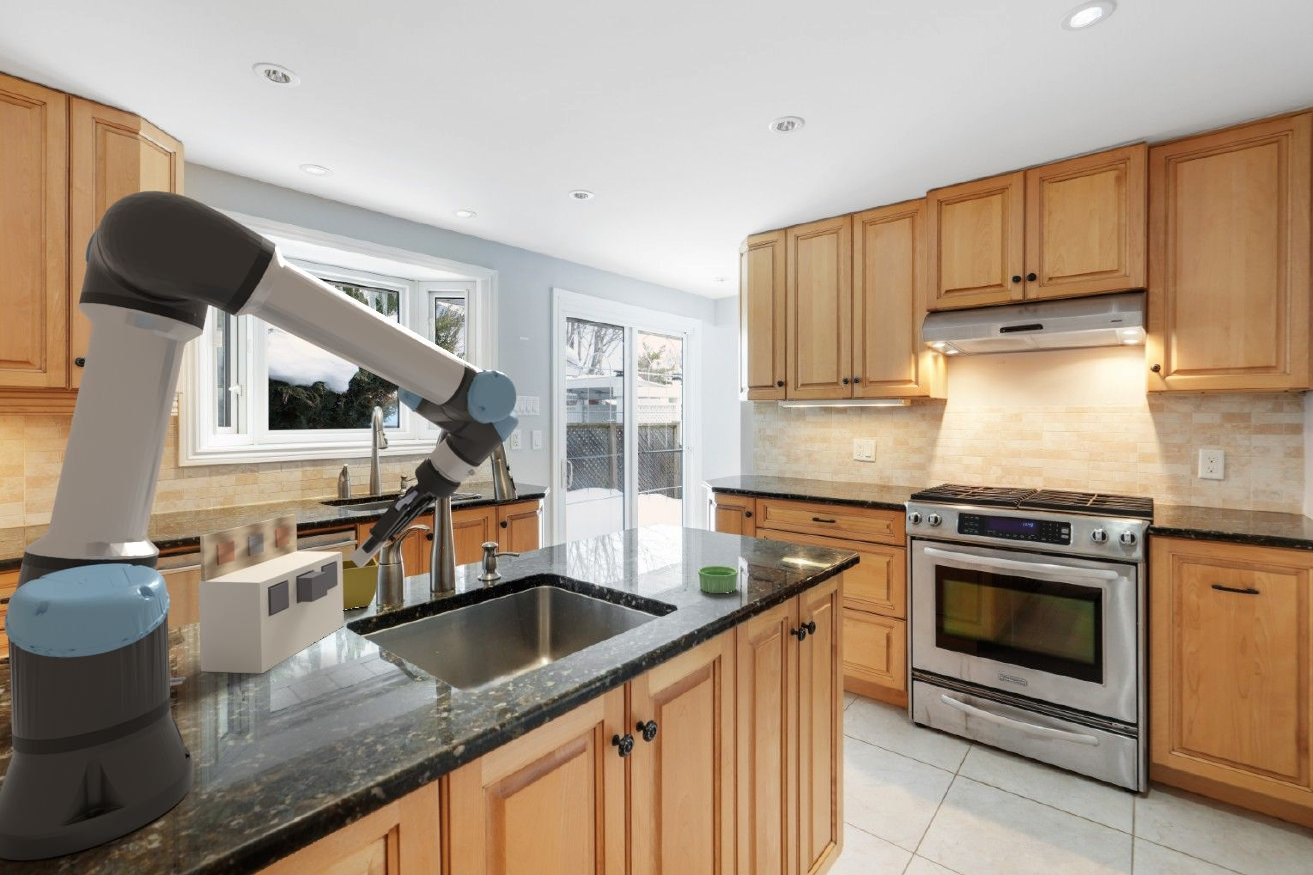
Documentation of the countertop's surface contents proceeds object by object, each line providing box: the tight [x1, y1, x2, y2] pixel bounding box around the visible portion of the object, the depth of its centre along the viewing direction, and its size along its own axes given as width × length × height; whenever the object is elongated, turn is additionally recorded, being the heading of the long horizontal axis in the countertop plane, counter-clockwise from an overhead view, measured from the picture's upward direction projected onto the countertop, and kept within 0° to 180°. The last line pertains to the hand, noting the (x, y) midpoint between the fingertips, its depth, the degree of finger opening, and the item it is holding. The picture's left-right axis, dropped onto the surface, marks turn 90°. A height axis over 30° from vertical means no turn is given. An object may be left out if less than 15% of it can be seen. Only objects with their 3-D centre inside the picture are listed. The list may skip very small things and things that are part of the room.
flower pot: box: [342, 557, 379, 610], centre depth 126 cm, size 9×9×9 cm
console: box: [197, 550, 345, 675], centre depth 104 cm, size 21×10×14 cm, turn 175°
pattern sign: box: [199, 513, 298, 581], centre depth 104 cm, size 21×1×7 cm, turn 175°
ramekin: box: [697, 565, 739, 594], centre depth 139 cm, size 9×9×4 cm
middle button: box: [296, 572, 327, 602], centre depth 104 cm, size 4×3×4 cm
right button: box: [321, 563, 338, 589], centre depth 110 cm, size 4×3×4 cm
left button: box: [268, 582, 289, 614], centre depth 97 cm, size 4×3×4 cm
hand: (356, 561), depth 110 cm, fingers closed
